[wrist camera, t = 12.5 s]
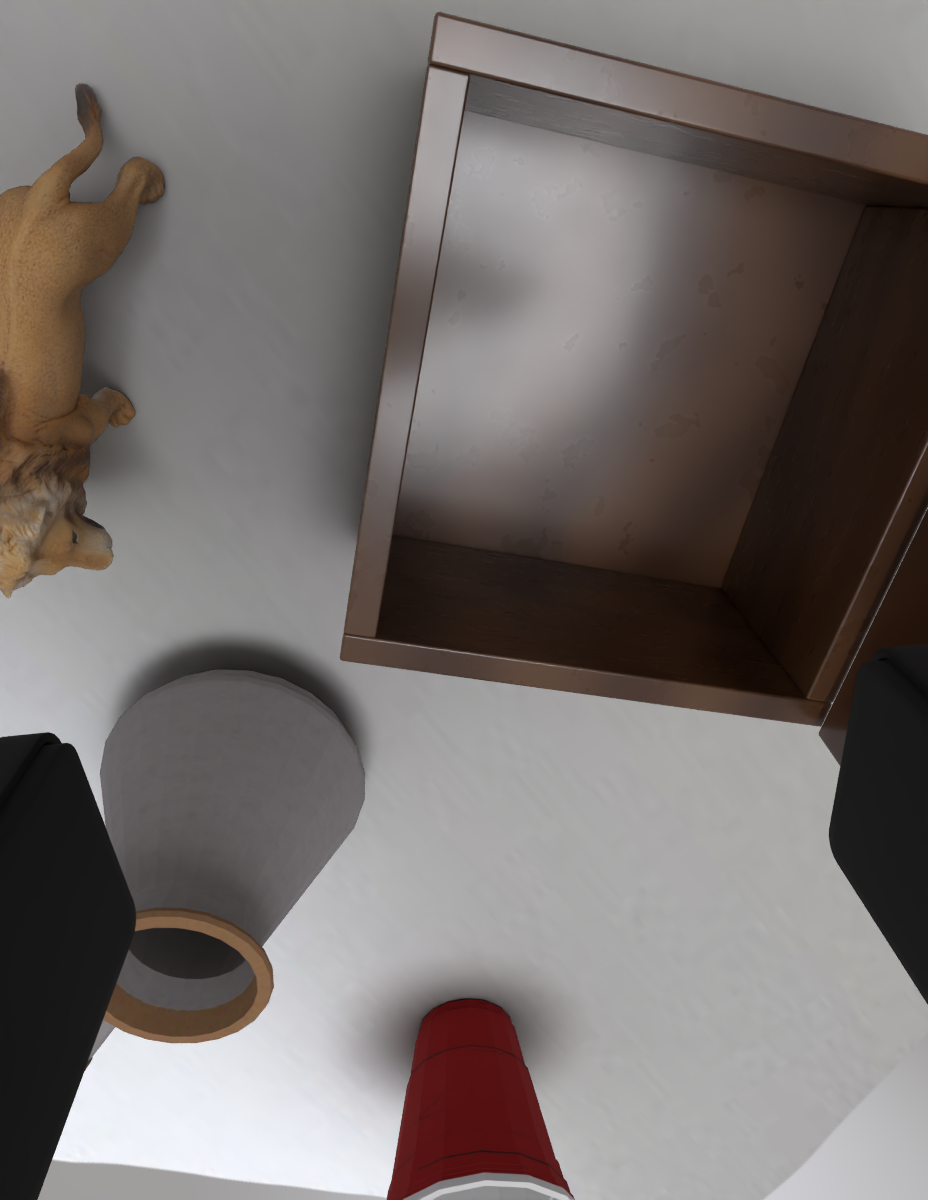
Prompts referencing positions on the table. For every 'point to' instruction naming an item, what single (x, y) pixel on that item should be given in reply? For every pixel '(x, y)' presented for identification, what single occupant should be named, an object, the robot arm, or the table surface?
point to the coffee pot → (218, 841)
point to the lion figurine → (56, 356)
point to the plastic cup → (472, 1114)
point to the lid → (886, 632)
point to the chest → (643, 384)
